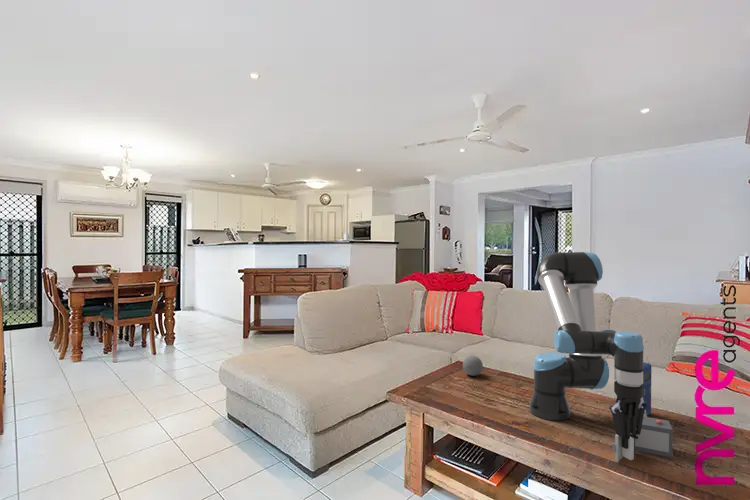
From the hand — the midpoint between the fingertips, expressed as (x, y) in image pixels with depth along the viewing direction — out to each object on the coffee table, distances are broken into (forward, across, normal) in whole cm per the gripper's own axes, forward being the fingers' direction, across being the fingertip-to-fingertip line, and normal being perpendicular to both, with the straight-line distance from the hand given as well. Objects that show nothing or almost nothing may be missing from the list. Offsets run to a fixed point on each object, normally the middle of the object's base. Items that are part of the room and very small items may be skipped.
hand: (627, 457), depth 123 cm
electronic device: (+2, -34, -23) cm, 42 cm away
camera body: (+2, -14, -4) cm, 15 cm away
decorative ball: (+2, +3, -85) cm, 85 cm away
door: (+1, -2, -4) cm, 4 cm away
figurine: (+2, -25, -18) cm, 30 cm away
